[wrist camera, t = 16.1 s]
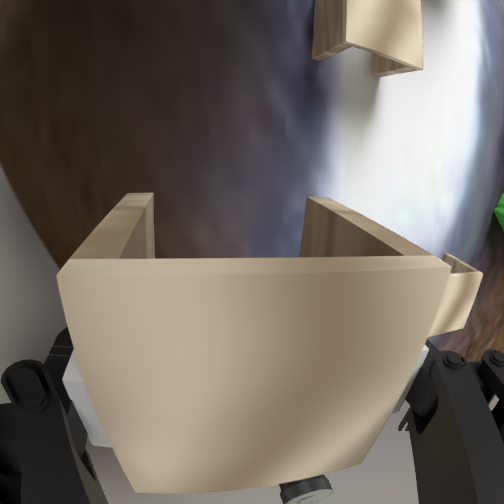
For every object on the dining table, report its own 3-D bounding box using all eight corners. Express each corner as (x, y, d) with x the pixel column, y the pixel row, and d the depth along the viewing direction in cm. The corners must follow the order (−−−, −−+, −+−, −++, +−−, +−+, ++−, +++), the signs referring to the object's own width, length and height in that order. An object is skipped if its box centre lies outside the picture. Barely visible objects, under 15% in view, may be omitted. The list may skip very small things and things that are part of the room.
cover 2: (311, 58, 25) (345, 41, 19) (315, -6, 22) (346, -34, 16) (379, 77, 27) (422, 69, 20) (381, 15, 24) (420, -1, 18)
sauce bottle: (234, 327, 34) (283, 488, 16) (287, 329, 35) (362, 471, 17) (226, 370, 36) (262, 518, 18) (274, 371, 38) (330, 505, 19)
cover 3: (394, 308, 38) (424, 337, 32) (409, 253, 35) (445, 276, 29) (433, 303, 40) (463, 327, 33) (448, 253, 37) (483, 273, 31)
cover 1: (143, 361, 14) (135, 492, 7) (127, 192, 11) (56, 275, 4) (302, 353, 15) (361, 463, 9) (329, 197, 13) (451, 266, 6)
